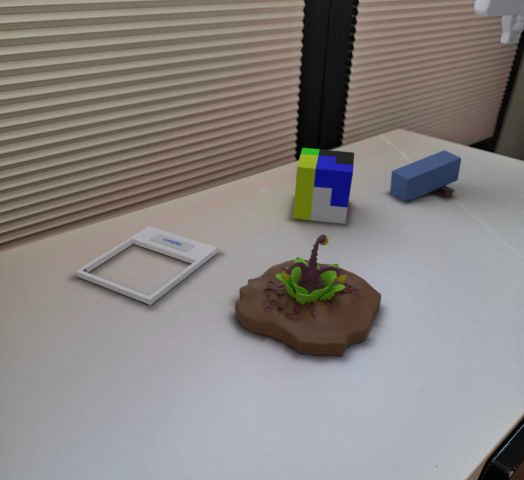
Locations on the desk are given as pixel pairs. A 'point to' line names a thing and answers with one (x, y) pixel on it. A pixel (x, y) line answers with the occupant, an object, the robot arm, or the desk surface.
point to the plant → (309, 305)
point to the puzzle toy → (323, 185)
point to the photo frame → (159, 243)
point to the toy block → (425, 175)
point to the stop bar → (444, 191)
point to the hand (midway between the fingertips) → (508, 42)
